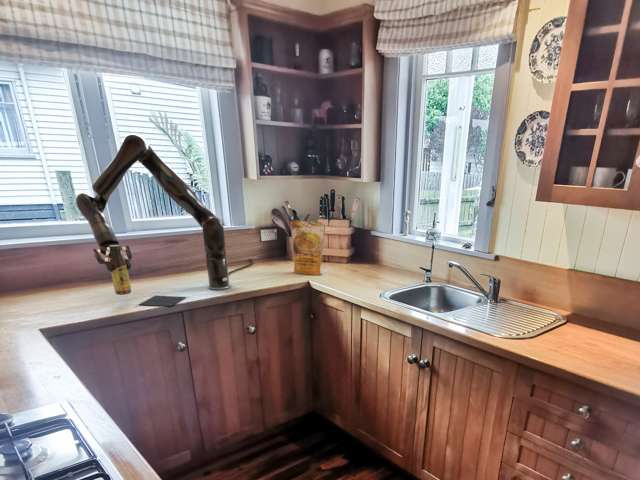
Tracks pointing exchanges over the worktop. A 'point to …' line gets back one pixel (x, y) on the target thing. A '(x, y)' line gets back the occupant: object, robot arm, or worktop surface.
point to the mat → (162, 301)
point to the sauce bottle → (119, 271)
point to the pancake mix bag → (307, 246)
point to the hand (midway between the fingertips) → (120, 269)
